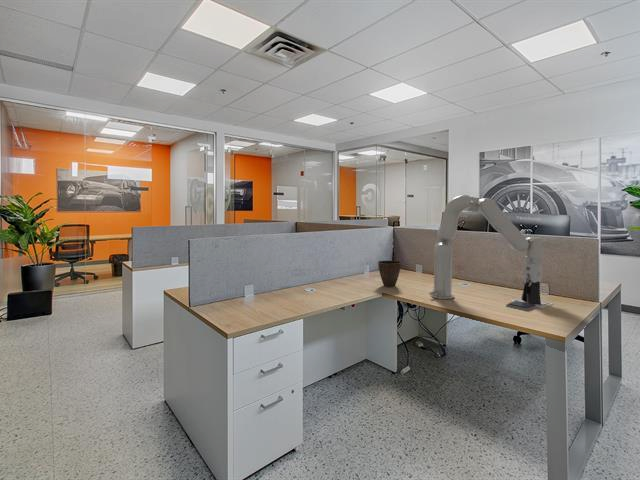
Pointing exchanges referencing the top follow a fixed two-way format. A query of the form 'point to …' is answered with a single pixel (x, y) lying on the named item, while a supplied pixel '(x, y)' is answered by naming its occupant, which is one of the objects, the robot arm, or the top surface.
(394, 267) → the plant pot
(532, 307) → the ink pad
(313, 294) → the top surface
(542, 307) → the print sheet
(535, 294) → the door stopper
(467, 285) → the top surface
